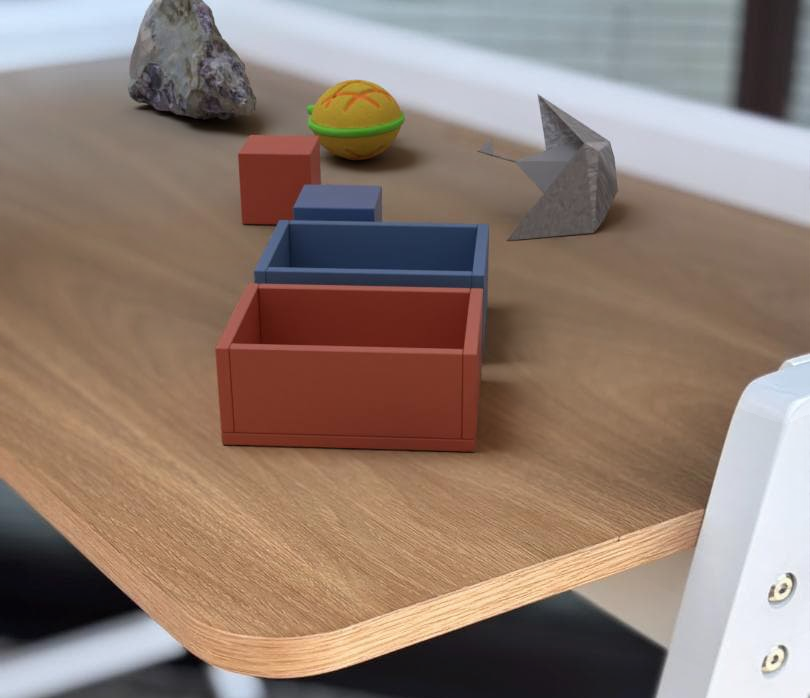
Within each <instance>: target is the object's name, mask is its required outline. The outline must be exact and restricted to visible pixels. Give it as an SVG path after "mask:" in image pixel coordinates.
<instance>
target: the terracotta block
mask: <svg viewBox="0 0 810 698" xmlns="http://www.w3.org/2000/svg"><path fill="white" fill-rule="evenodd" d="M237 160H238V177H239V195H240V212H241V213H240V214H241V224H242V225H265V226H266V225H270V226H271V225H274V226H277V224H278V222H279V220H289V221H291V220H294V219H293V207H294V205H295V203H296V201H297V199H298V197H299V195H300V193H301V190H302V188H303V186H304V185H322V172H321V170H322V169H321V143H320V138H319V136H315V135H284V134H283V135H276V134H275V135H274V134H271V135H270V134H250V135H249V136H248V138H247V139H246V141H245V143H244V144H243V145H242V147H241V148H240V150H239V151H238V153H237Z"/></svg>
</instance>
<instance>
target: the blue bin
mask: <svg viewBox="0 0 810 698" xmlns="http://www.w3.org/2000/svg"><path fill="white" fill-rule="evenodd" d="M489 254H490V224H489V223H463V222H461V223H460V222H459V223H458V222H407V221H405V222H403V221H402V222H401V221H382V222H359V221H305V220H291V221H289V220H279V222H278V224H277V225H275V228H274V230H273V232H272V234H271V236H270V237H269V240H268V242H267V243H266V246H265V248H264V250H263V252H262V253H261V256H260V257H259V260H258V262H257V264H256V266H255V268H254V270H253V280H254V284H259V285H260V284H297V285H343V286H389V287H436V288H470V290H471V289H472V288H480V289H483V325H482V364H483V363H484V351H485V340H486V327H487V318H488V317H487V315H488V305H489V304H488V303H489V302H488V301H489V300H488V299H489V297H488V296H489V261H490V259H489V257H490V255H489Z"/></svg>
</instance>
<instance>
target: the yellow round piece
mask: <svg viewBox="0 0 810 698" xmlns="http://www.w3.org/2000/svg"><path fill="white" fill-rule="evenodd" d="M306 112H307V114H308V115H309V116H308V118H307V126H308V128H309V130H311V131H312V133H313V136H319V138H320V146H322V147H323V148H324V149H326V150H327V151H328V152H329V153H331V154H332V155H335V156H336V157H339V158H342V159H347V160H350V161H363V160H368V159H371V158H374V157H376V156H378V155H380V154H382V153H383V152H385V151H386V150H387V149H388V148H389V147H390V146H391V145H392V144H393V143H394V141H395V140H396V139H397V138H398V135H399V133H400V130H401V128H402V126H403V124H404V122H405V114H404V112H403V110H401V107H400V106H399V103H398V102H397V100H396V99H395V97H393V96H392V95H391V93H390V92H389V91H388V90H386V89H385V88H384V87H382V86H381V85H380V84H377V83H375V82H372V81H368V80H364V79H348V80H344V81H341V82H338V83H336V84H335V85H333V86H331V87H330V88H328V89H327V90H326V91H325V92H324V93H323V94H322V95H320V97H319V98H318V99H317V101H316V102H315V104H310V105H307V107H306Z"/></svg>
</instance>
